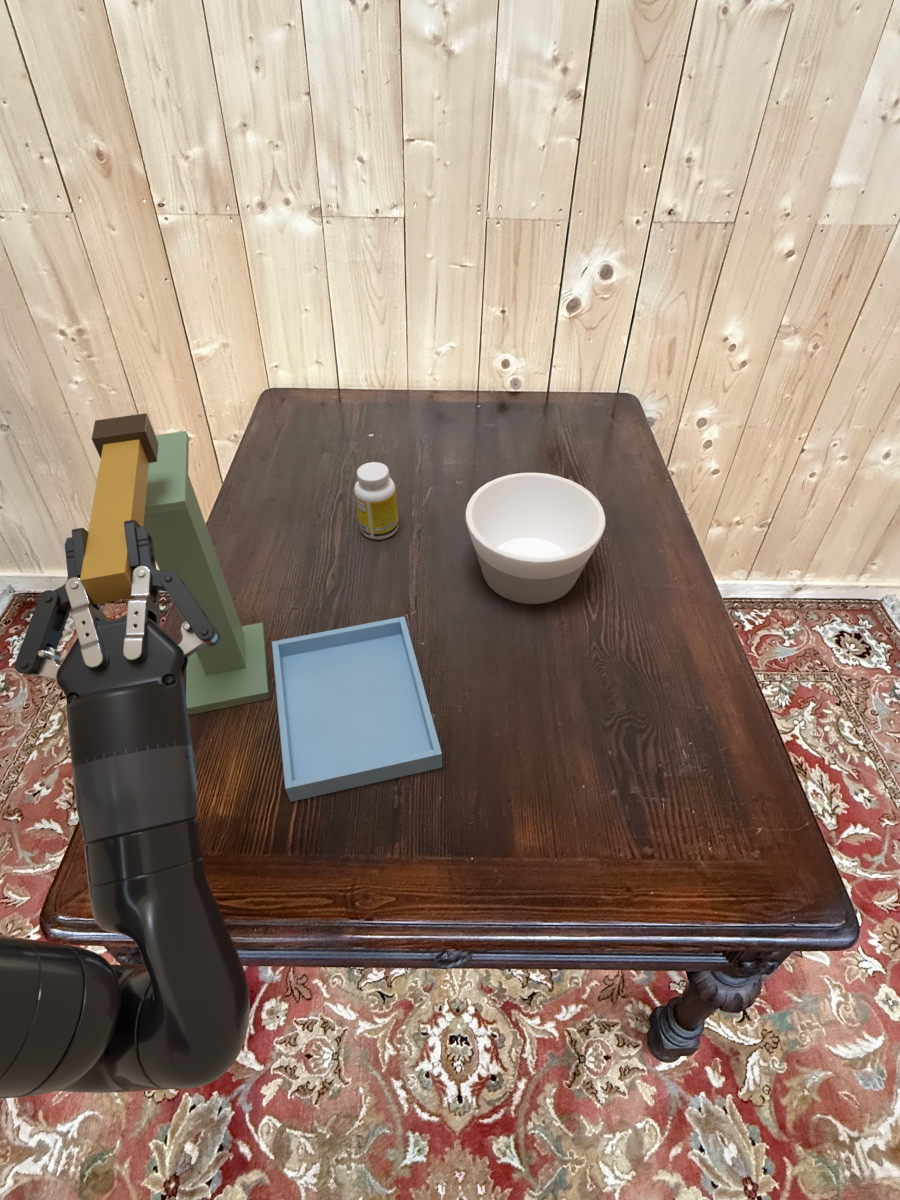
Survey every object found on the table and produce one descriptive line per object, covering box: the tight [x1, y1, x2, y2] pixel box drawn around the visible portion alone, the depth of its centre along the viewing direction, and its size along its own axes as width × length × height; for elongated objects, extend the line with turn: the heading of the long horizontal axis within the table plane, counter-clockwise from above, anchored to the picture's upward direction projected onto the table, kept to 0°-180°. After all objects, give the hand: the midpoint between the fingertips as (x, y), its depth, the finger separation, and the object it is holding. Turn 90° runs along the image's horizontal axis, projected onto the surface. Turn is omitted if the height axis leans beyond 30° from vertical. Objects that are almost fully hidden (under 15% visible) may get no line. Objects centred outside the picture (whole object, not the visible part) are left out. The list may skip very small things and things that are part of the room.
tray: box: [271, 616, 443, 803], centre depth 85 cm, size 18×22×3 cm
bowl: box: [465, 472, 607, 605], centre depth 99 cm, size 19×19×11 cm
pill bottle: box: [353, 461, 400, 541], centre depth 106 cm, size 6×6×11 cm
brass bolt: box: [80, 412, 158, 605], centre depth 55 cm, size 4×20×3 cm, turn 14°
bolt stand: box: [143, 430, 271, 716], centre depth 79 cm, size 10×12×32 cm
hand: (107, 528), depth 51 cm, fingers closed on brass bolt, 3 cm apart
